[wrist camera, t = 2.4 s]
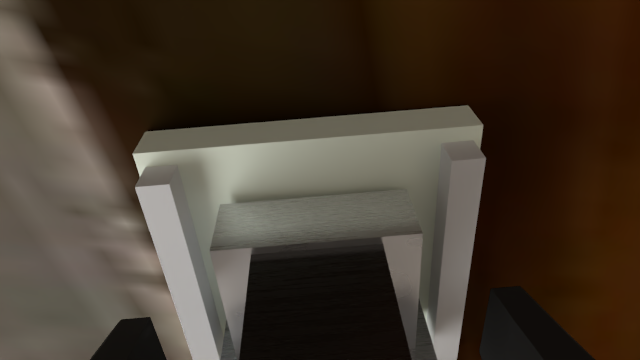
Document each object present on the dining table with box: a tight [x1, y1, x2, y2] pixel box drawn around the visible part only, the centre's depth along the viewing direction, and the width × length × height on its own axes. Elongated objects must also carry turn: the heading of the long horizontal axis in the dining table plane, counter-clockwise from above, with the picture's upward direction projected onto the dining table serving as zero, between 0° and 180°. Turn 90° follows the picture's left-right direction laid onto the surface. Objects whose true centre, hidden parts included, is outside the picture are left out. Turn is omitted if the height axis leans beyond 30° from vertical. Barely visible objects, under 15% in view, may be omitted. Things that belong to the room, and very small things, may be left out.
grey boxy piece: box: [209, 189, 437, 360], centre depth 11 cm, size 5×6×6 cm
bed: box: [133, 105, 486, 360], centre depth 14 cm, size 10×9×2 cm
